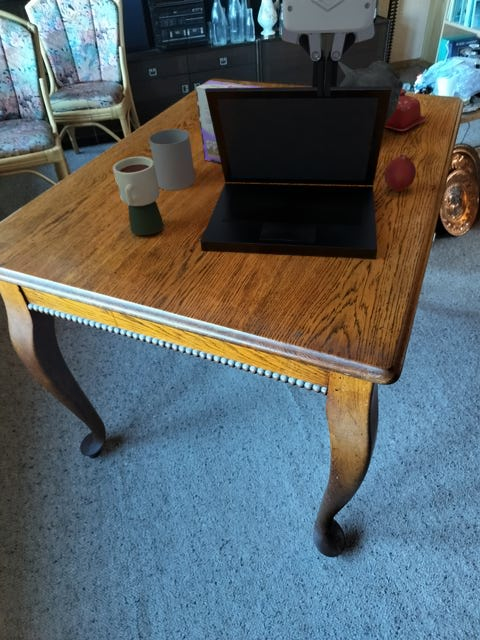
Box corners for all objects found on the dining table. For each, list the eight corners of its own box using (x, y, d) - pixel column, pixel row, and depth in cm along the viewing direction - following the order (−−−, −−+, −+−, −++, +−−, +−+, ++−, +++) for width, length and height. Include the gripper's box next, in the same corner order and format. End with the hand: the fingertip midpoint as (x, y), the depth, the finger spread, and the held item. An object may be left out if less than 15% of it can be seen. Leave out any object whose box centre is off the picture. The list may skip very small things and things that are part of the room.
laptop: (375, 259, 78) (377, 248, 76) (201, 250, 83) (200, 240, 81) (372, 195, 94) (373, 185, 92) (225, 191, 99) (224, 182, 97)
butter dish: (363, 126, 120) (367, 90, 114) (389, 113, 126) (394, 79, 120) (402, 137, 114) (408, 100, 108) (428, 123, 119) (435, 87, 113)
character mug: (138, 215, 94) (123, 151, 85) (172, 215, 93) (160, 151, 84) (121, 245, 86) (102, 179, 77) (159, 246, 85) (144, 179, 76)
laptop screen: (392, 89, 72) (392, 85, 73) (204, 91, 78) (205, 88, 78) (373, 186, 92) (373, 182, 93) (224, 182, 97) (225, 179, 98)
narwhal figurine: (389, 158, 106) (403, 71, 93) (322, 152, 110) (327, 68, 98) (395, 133, 115) (409, 52, 103) (334, 129, 120) (339, 51, 107)
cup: (176, 194, 99) (169, 147, 92) (149, 184, 103) (140, 139, 96) (202, 178, 104) (197, 133, 97) (175, 170, 108) (168, 126, 101)
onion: (385, 183, 97) (391, 145, 92) (413, 186, 95) (421, 148, 90) (379, 196, 93) (385, 157, 88) (409, 200, 91) (417, 160, 86)
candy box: (265, 161, 108) (263, 85, 97) (252, 171, 105) (248, 94, 94) (217, 151, 114) (210, 78, 103) (203, 160, 111) (194, 86, 100)
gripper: (255, -95, 45) (261, 103, 58) (417, -108, 43) (386, 102, 55) (265, -98, 51) (269, 84, 63) (409, -109, 48) (383, 83, 60)
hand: (324, 92), depth 59 cm, fingers closed
